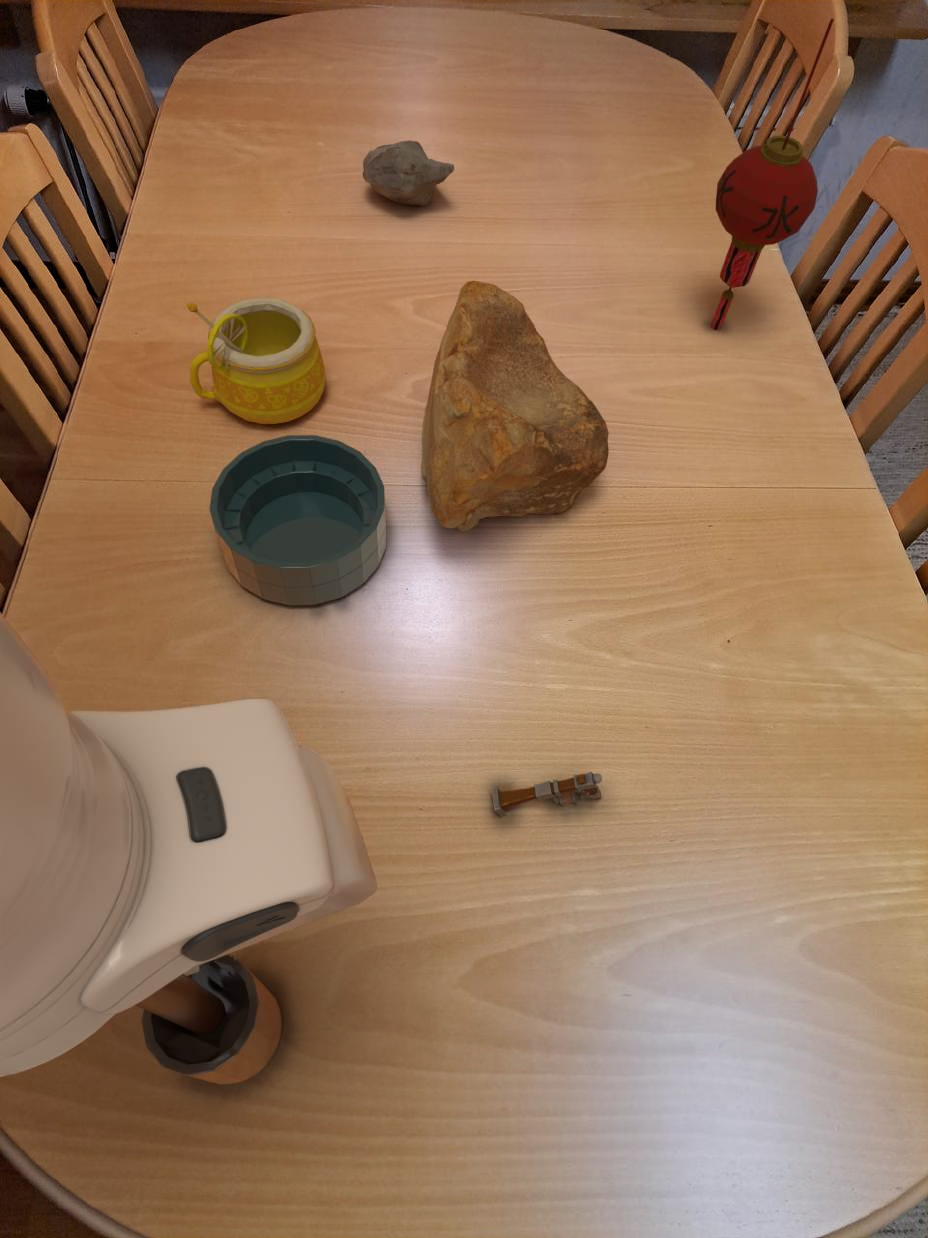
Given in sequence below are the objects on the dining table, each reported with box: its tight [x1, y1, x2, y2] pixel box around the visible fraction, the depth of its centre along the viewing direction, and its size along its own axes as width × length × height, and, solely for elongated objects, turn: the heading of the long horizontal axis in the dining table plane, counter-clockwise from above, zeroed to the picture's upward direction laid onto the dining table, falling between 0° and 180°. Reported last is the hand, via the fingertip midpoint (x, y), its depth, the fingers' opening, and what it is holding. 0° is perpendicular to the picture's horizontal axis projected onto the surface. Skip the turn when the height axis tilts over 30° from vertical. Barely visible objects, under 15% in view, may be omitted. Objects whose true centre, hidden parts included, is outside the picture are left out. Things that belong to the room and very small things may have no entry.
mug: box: [186, 297, 327, 425], centre depth 77 cm, size 13×11×12 cm
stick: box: [135, 976, 226, 1035], centre depth 38 cm, size 2×2×18 cm
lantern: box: [710, 18, 835, 331], centre depth 79 cm, size 10×10×30 cm
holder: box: [141, 954, 283, 1085], centre depth 48 cm, size 6×6×10 cm
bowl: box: [209, 434, 387, 606], centre depth 71 cm, size 14×14×6 cm
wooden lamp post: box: [491, 770, 603, 818], centre depth 61 cm, size 2×8×4 cm, turn 96°
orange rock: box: [420, 280, 610, 533], centre depth 73 cm, size 23×17×15 cm
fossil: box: [362, 139, 455, 207], centre depth 98 cm, size 11×9×8 cm
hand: (138, 973), depth 34 cm, fingers closed on stick, 2 cm apart
